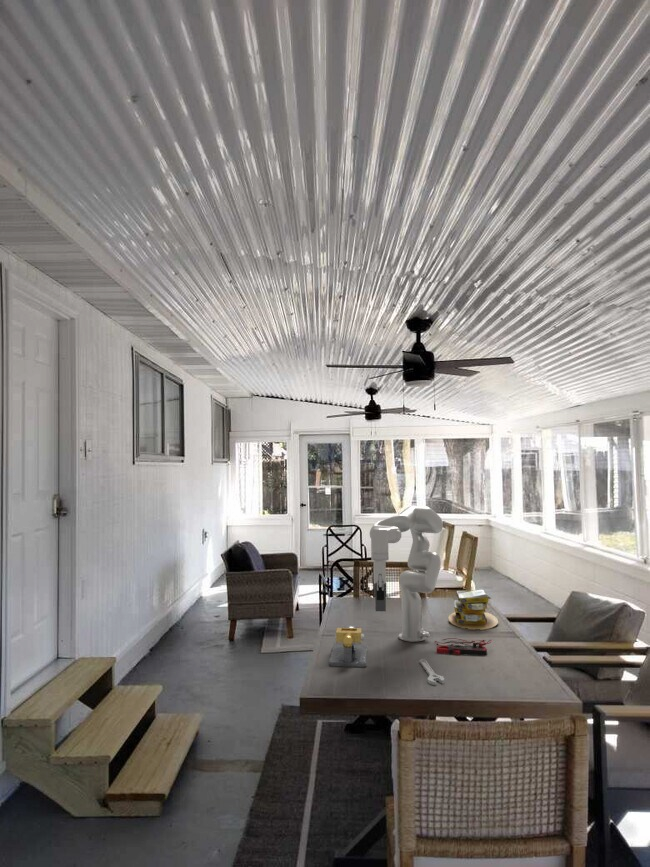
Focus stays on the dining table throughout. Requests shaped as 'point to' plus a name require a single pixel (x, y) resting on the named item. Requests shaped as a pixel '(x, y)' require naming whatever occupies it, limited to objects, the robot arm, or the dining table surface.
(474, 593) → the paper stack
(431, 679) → the adjustable wrench
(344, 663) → the multicoloured piece
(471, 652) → the digital clamp meter
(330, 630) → the dining table surface
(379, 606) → the wedge
